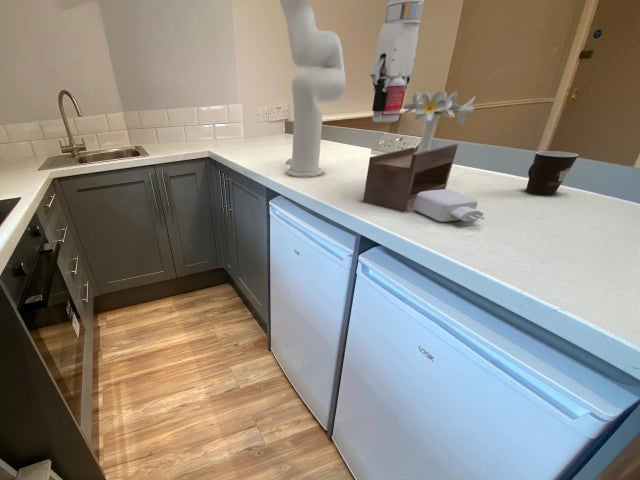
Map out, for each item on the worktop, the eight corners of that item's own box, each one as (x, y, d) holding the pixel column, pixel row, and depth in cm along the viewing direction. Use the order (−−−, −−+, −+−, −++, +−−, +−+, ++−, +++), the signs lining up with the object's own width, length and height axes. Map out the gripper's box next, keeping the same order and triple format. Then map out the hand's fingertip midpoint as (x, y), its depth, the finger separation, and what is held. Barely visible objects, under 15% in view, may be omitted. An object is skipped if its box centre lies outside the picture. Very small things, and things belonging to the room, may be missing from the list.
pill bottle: (402, 120, 85) (412, 67, 79) (390, 123, 82) (400, 67, 76) (379, 119, 89) (387, 69, 83) (367, 122, 86) (375, 69, 80)
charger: (457, 232, 72) (412, 211, 84) (494, 227, 73) (444, 207, 86) (464, 210, 69) (417, 191, 82) (502, 206, 71) (450, 188, 83)
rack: (362, 201, 92) (371, 149, 85) (403, 188, 102) (413, 140, 95) (403, 211, 84) (416, 154, 77) (443, 195, 94) (458, 144, 87)
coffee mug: (546, 188, 97) (563, 150, 91) (567, 196, 90) (587, 156, 84) (502, 188, 98) (516, 151, 93) (520, 197, 91) (536, 157, 85)
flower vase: (457, 185, 102) (487, 88, 89) (396, 187, 103) (417, 91, 89) (436, 176, 113) (460, 88, 100) (381, 177, 114) (397, 90, 100)
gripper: (408, 21, 81) (393, 107, 91) (363, 17, 73) (352, 112, 83) (440, 16, 76) (420, 108, 86) (395, 11, 68) (379, 113, 77)
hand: (386, 109), depth 84 cm, fingers closed on pill bottle, 6 cm apart
